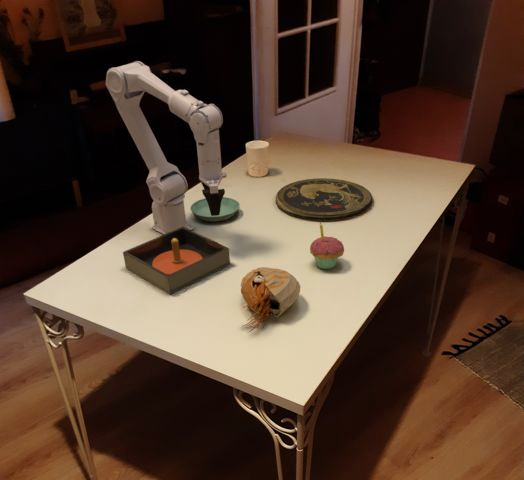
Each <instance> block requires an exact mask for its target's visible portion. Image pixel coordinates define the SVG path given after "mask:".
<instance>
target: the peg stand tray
mask: <svg viewBox="0 0 524 480" xmlns="http://www.w3.org/2000/svg"><path fill="white" fill-rule="evenodd" d="M173 238H176V239H178V241H179V249H180V250H191V251H195V252H197V253H199V254H200V255H201V256H202V258H203V259H201V260H199V261H197V262H195V263H193V264H191V265H188V266H186V267H184V268H182V269H180V270H178V271H176V272H174V273H172V274H170V275H167V274H165V273H163V272H162V271H160V270H158V269H156V268H154V267H153V266H152V262H153V260H154V259H155V258H156V257H157V256H158V255H160V254H162V253H165V252H168V251H172V243H171V240H172V239H173ZM122 255H123V259H124V261H123V262H124V267H125V269H126V270H127V271H128V272H129V271H130V272H131V273H133V274H134V275H137V277H139V278H141V279H143V280H145V281H146V282H148V283H150V284H151V285H153V286H154V287H157V289H160V290H162V291H163V292H165V293H167V294H168V295H172V294H174V293H176V292H179V291H181V290H183V289H185V288H187V287H188V286H191V285H192V284H195V283H196V282H199V281H201V280H202V279H204V278H207V277H209V276H210V275H213V274H214V273H216V272H218V271H220V270H223V269H225V268H226V267H228V266H230V265H231V257H230V256H231V255H230V248H229V247H227V246H226V245H224V244H221V243H219V242H217V241H214V240H213V239H211V238H209V237H207V236H204V235H203V234H200V233H198V232H196V231H194V230H189V229H187V228H185V227H181V228H178V229H176V230H174V231H171V232H169V233H167V234H162V235H159V236H158V237H157V236H156V237H155V238H153V239H150V240H149V241H146V242H145V241H144V242H143V243H141V244H139V245H136V246H133V247H131V248H129V249H126V250H125V251H122Z"/></svg>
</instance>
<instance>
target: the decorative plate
mask: <svg viewBox="0 0 524 480" xmlns="http://www.w3.org/2000/svg"><path fill="white" fill-rule="evenodd" d="M373 199H374V198H373V195H372V193H371V192H370V191H369V190H368V188H366V187H364V186H362V185H360V184H358V183H356V182H352V181H350V180H345V179H338V178H325V177H324V178H317V177H316V178H307V179H301V180H297V181H294V182H291V183H288V184H286V185H284V186H283V187H281V188H280V189H279V190H278V191H277V193H276V196H275V204H276V206H277V207H278V208H279V209H280V210H281V211H282V212H284V213H286V214H289V215H290V216H293V217H296V218H300V219H303V220H304V219H305V220H311V221H339V220H345V219H350V218H351V219H352V218H354V217H357V216H360V215H362V214H363V213H366V212H367V211H368V210H369V209H371V206H372V205H373Z"/></svg>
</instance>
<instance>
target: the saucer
mask: <svg viewBox="0 0 524 480" xmlns="http://www.w3.org/2000/svg"><path fill="white" fill-rule="evenodd" d="M240 207H241V205H240V202H239V201H237V200H236V199H234V198H231V197H226V196H223V198H222V201H221V208H220V214H219V215H217V216H211V213H210V210H209V205H208V202H207V200H206V198H205V197H204V198H201V199H199V200H196V201H195V202H193V203H192V204H191V205H190V208H189V209H190V212H191V213H192V214H193V215H194V216H195V217H196V218H198V219H200V220H201V221H204V222H214V223H215V222H222V221H227V220H228V219H231V218H232V217H233V216H235V214H236V213H237V212H238V210H239V209H240Z"/></svg>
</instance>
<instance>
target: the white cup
mask: <svg viewBox="0 0 524 480" xmlns="http://www.w3.org/2000/svg"><path fill="white" fill-rule="evenodd" d="M245 153H246V164H247V171H248V172H247V173H248V175H249V176H251V177H255V178H259V177H265V176H267V175H268V173H269V161H270V160H269V158H270V143H269V142H268V141H265V140H252V141H248V142H246V143H245Z"/></svg>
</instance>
